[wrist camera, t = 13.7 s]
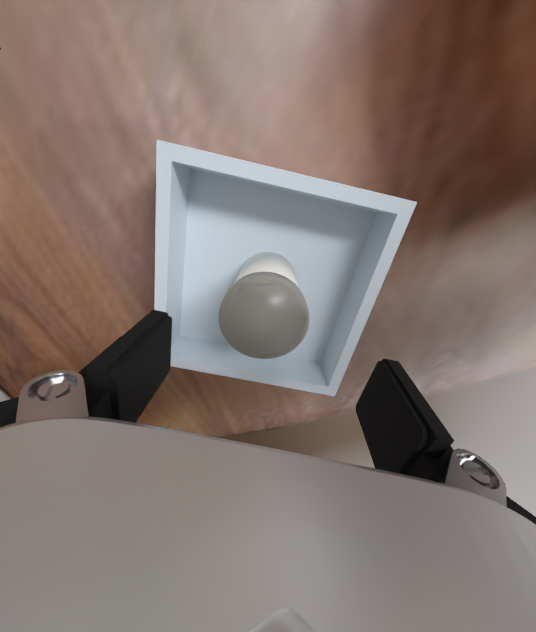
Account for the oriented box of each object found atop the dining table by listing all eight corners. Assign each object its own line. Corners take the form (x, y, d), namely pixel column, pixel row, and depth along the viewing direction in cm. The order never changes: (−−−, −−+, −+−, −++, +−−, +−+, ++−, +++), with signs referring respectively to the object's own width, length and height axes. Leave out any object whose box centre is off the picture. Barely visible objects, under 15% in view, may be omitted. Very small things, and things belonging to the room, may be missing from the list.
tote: (387, 202, 21) (417, 202, 17) (325, 366, 29) (334, 396, 24) (183, 153, 20) (156, 139, 16) (173, 337, 28) (153, 363, 23)
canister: (304, 257, 23) (321, 287, 15) (289, 313, 25) (296, 365, 17) (242, 244, 22) (224, 267, 14) (233, 302, 25) (213, 350, 17)
